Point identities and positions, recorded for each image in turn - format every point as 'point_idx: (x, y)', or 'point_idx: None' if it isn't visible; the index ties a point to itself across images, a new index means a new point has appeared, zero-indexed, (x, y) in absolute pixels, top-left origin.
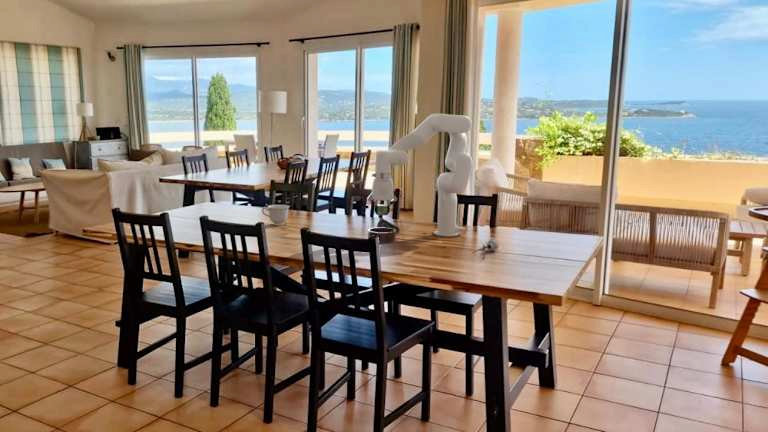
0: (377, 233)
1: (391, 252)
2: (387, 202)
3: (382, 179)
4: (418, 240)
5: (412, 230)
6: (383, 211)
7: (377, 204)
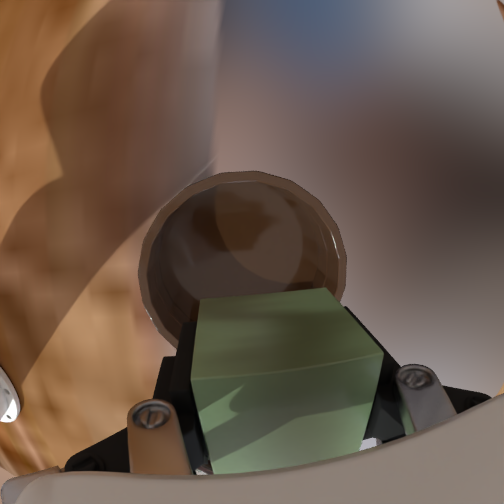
0: (281, 178)
1: None
2: (186, 459)
3: None
4: (39, 269)
5: None
6: (256, 319)
7: None
